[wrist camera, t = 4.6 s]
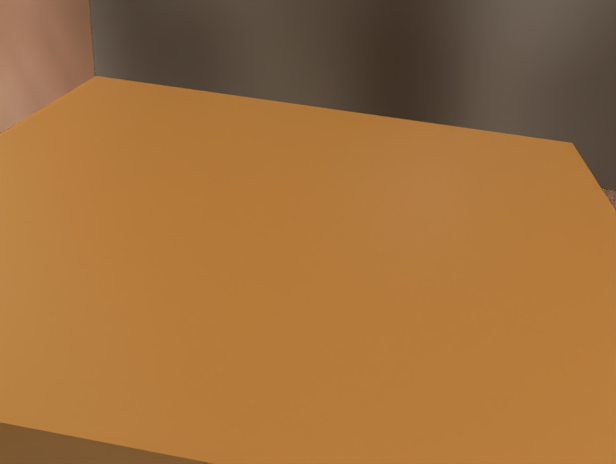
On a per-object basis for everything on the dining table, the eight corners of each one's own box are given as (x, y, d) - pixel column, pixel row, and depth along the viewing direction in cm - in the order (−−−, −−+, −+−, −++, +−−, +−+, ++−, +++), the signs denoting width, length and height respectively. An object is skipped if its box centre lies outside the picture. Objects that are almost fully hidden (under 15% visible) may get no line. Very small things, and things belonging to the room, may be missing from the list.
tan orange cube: (572, 142, 8) (857, 590, 3) (457, 459, 12) (494, 898, 7) (95, 75, 9) (-362, 351, 3) (129, 397, 12) (-68, 760, 7)
